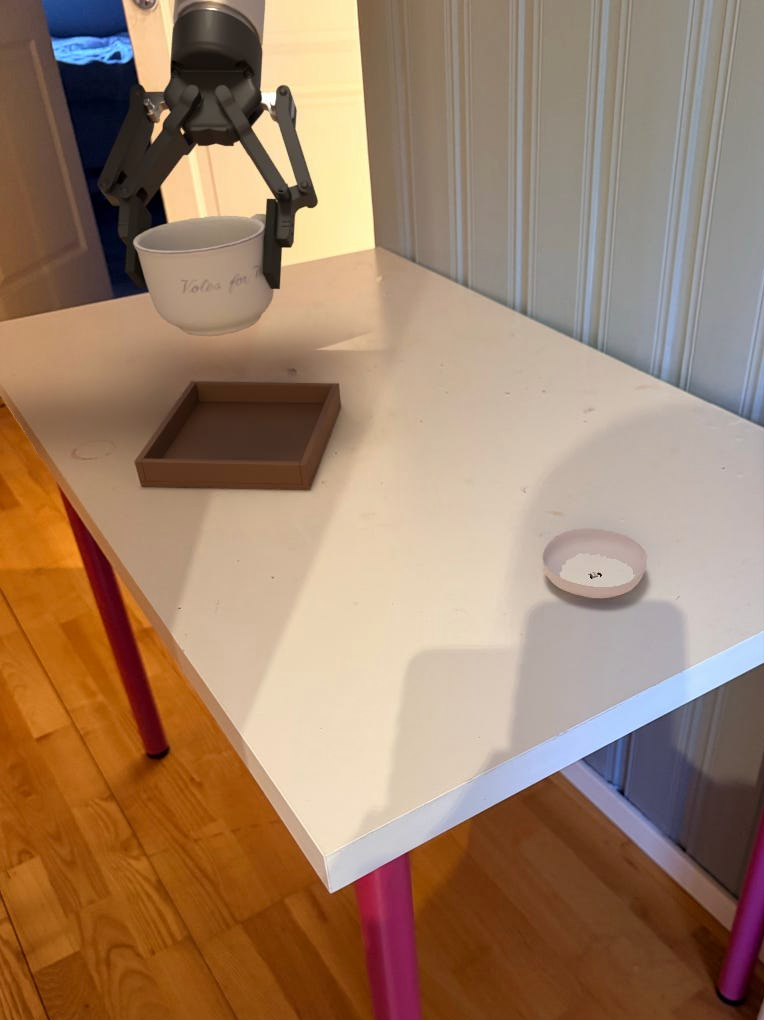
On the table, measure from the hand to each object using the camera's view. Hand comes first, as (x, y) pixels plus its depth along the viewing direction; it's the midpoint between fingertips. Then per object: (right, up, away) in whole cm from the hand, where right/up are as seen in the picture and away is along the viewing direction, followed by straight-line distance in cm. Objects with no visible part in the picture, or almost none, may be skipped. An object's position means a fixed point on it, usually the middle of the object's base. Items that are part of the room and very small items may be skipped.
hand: (203, 280), depth 77 cm
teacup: (+1, -2, +5) cm, 5 cm away
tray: (+1, -11, +11) cm, 16 cm away
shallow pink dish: (+32, -26, -6) cm, 41 cm away
